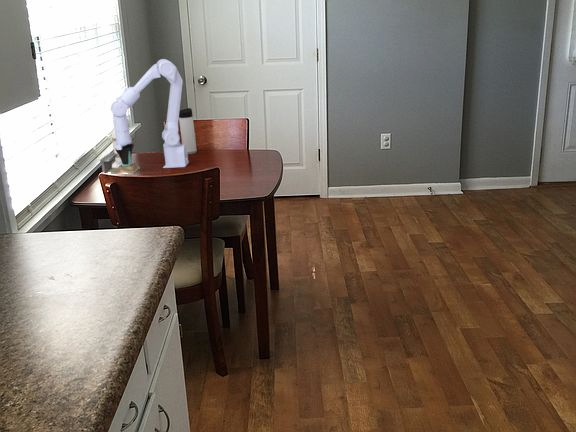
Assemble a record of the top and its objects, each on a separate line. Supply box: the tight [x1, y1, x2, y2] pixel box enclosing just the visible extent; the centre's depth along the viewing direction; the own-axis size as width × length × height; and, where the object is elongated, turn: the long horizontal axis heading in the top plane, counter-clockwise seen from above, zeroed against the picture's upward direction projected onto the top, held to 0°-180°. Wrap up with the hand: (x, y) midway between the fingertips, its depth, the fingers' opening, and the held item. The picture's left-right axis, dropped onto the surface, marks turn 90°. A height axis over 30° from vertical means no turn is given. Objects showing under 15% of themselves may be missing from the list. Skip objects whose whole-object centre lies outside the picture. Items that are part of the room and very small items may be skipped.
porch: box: [99, 153, 141, 175], centre depth 270 cm, size 13×10×7 cm
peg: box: [120, 151, 133, 167], centre depth 269 cm, size 3×3×7 cm
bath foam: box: [111, 127, 122, 164], centre depth 286 cm, size 7×7×20 cm
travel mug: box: [178, 107, 198, 155], centre depth 294 cm, size 6×7×20 cm
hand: (127, 163), depth 270 cm, fingers closed on peg, 3 cm apart
